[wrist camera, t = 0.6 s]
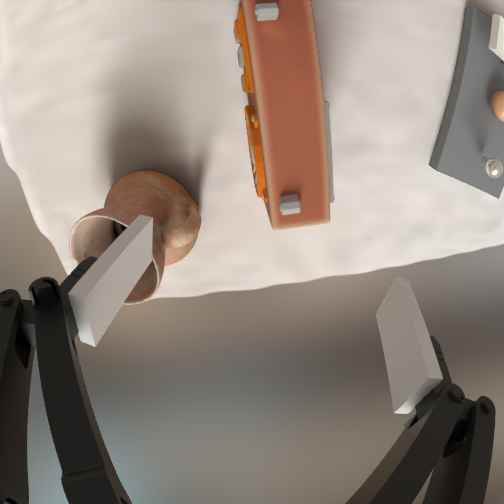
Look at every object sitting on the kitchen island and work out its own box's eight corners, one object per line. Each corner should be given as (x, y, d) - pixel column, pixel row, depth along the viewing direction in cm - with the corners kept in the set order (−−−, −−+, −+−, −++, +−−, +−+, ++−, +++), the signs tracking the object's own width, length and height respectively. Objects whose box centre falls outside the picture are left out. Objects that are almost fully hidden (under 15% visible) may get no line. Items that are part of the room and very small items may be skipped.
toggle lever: (479, 149, 29) (490, 155, 23) (493, 156, 28) (507, 164, 22) (474, 164, 30) (484, 173, 24) (488, 172, 29) (500, 183, 23)
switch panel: (465, 9, 22) (480, 4, 18) (526, 51, 22) (543, 51, 18) (428, 165, 35) (441, 174, 31) (490, 192, 34) (504, 203, 31)
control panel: (230, 22, 29) (231, -17, 16) (288, 17, 29) (324, -20, 16) (253, 185, 39) (266, 239, 26) (306, 178, 39) (344, 228, 26)
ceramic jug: (129, 258, 50) (87, 313, 38) (98, 178, 43) (39, 219, 30) (230, 246, 46) (205, 311, 34) (204, 150, 38) (160, 186, 26)
